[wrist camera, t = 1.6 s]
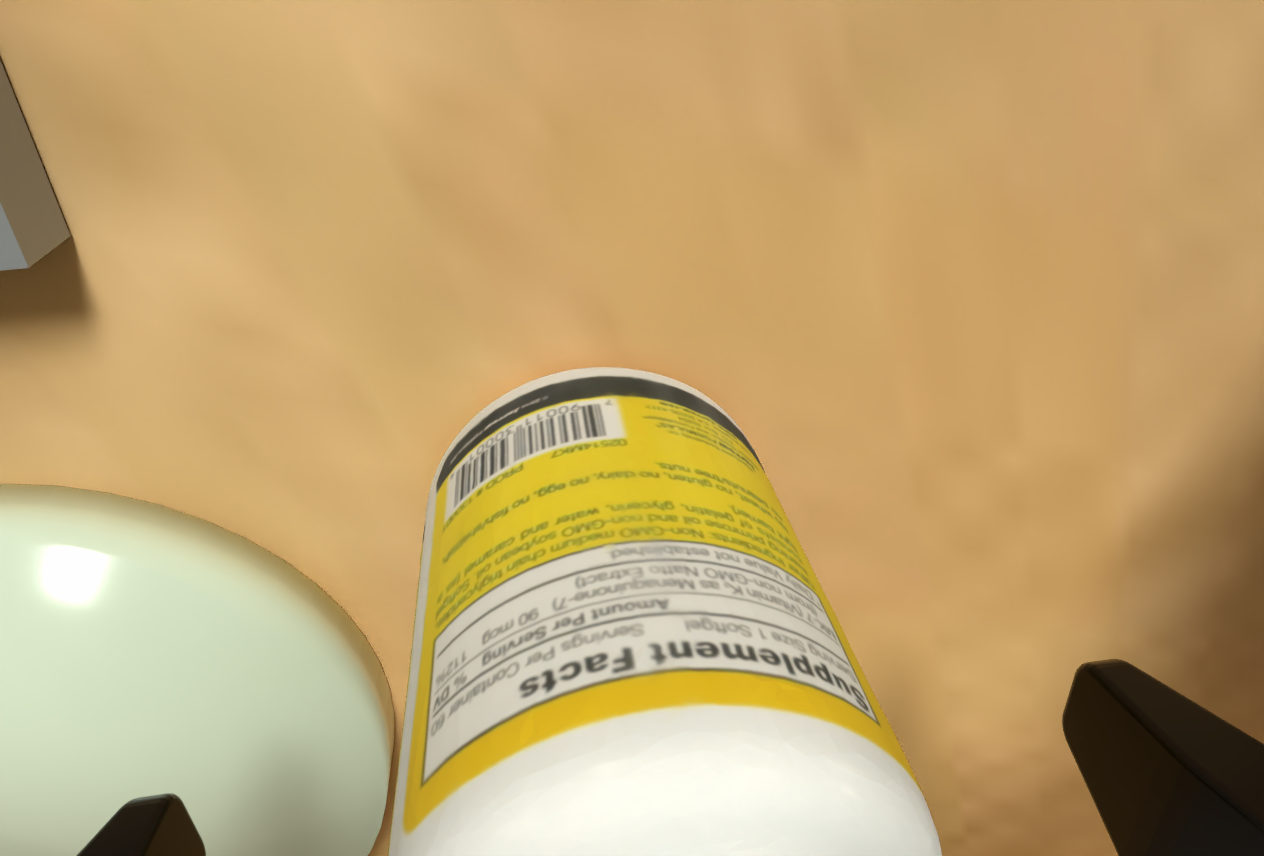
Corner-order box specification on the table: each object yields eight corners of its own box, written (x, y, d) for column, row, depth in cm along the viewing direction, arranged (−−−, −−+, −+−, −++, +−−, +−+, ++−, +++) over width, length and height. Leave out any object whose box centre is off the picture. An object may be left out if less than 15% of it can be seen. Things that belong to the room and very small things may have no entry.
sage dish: (321, 445, 11) (303, 498, 10) (437, 859, 16) (433, 924, 15) (-439, 530, 10) (-541, 597, 9) (-84, 939, 15) (-125, 1013, 14)
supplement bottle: (676, 656, 14) (859, 1427, 7) (386, 592, 13) (240, 1482, 5) (819, 414, 12) (1288, 1151, 5) (493, 304, 11) (483, 1126, 3)
